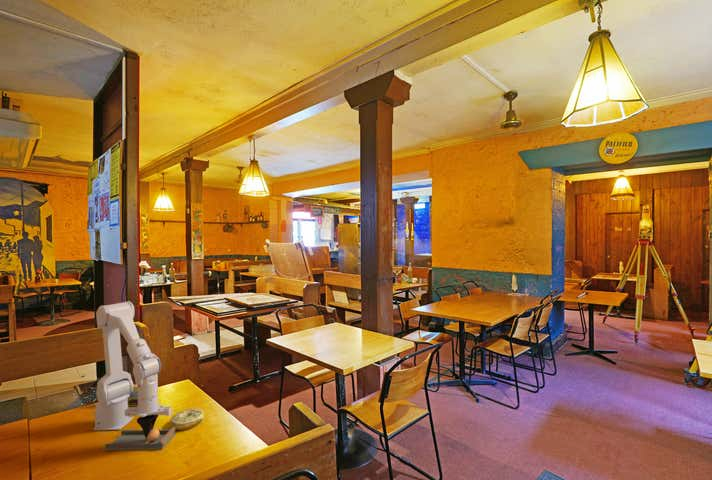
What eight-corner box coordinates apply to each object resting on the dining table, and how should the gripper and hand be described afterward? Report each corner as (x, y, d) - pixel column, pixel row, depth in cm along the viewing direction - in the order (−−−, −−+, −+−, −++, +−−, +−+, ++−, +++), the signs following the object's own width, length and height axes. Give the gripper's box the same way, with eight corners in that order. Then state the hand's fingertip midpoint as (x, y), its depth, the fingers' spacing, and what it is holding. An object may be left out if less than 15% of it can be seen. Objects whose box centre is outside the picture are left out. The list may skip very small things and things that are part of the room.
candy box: (104, 406, 138) (103, 386, 138) (108, 403, 140) (107, 383, 140) (143, 406, 137) (142, 386, 137) (147, 404, 139) (146, 383, 139)
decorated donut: (209, 420, 127) (209, 410, 127) (182, 435, 117) (182, 424, 117) (191, 413, 132) (191, 403, 132) (164, 427, 122) (164, 416, 122)
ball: (154, 432, 112) (155, 443, 112) (161, 426, 115) (162, 436, 115) (143, 433, 112) (144, 444, 112) (150, 427, 115) (151, 437, 115)
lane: (105, 450, 110) (105, 442, 110) (122, 435, 118) (122, 427, 118) (162, 449, 110) (161, 441, 110) (175, 434, 118) (175, 427, 118)
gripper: (117, 401, 109) (118, 444, 110) (163, 401, 109) (164, 443, 109) (132, 391, 116) (133, 431, 117) (174, 391, 116) (176, 430, 116)
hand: (149, 436), depth 113 cm, fingers closed, pressing on ball
